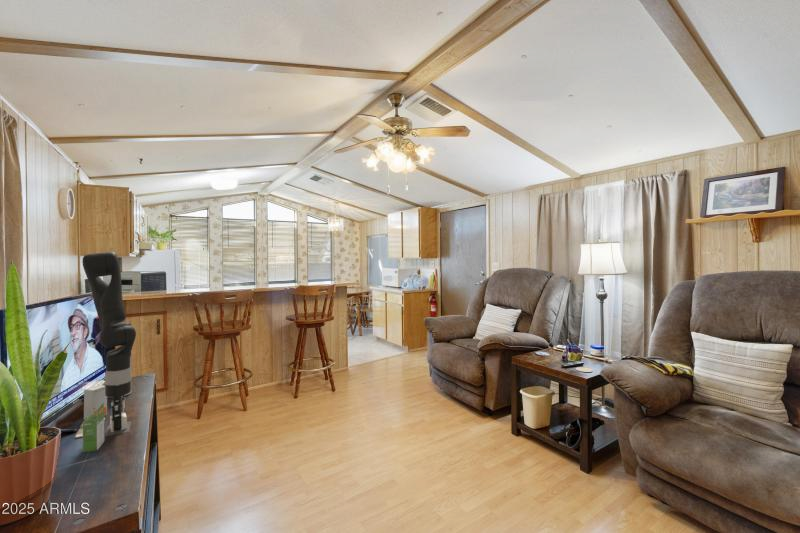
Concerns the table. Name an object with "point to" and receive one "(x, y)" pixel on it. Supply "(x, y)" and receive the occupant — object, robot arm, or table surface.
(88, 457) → the table surface
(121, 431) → the mat
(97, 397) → the skincare box
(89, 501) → the table surface
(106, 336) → the robot arm
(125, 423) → the die
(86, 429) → the ink box
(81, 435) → the board
